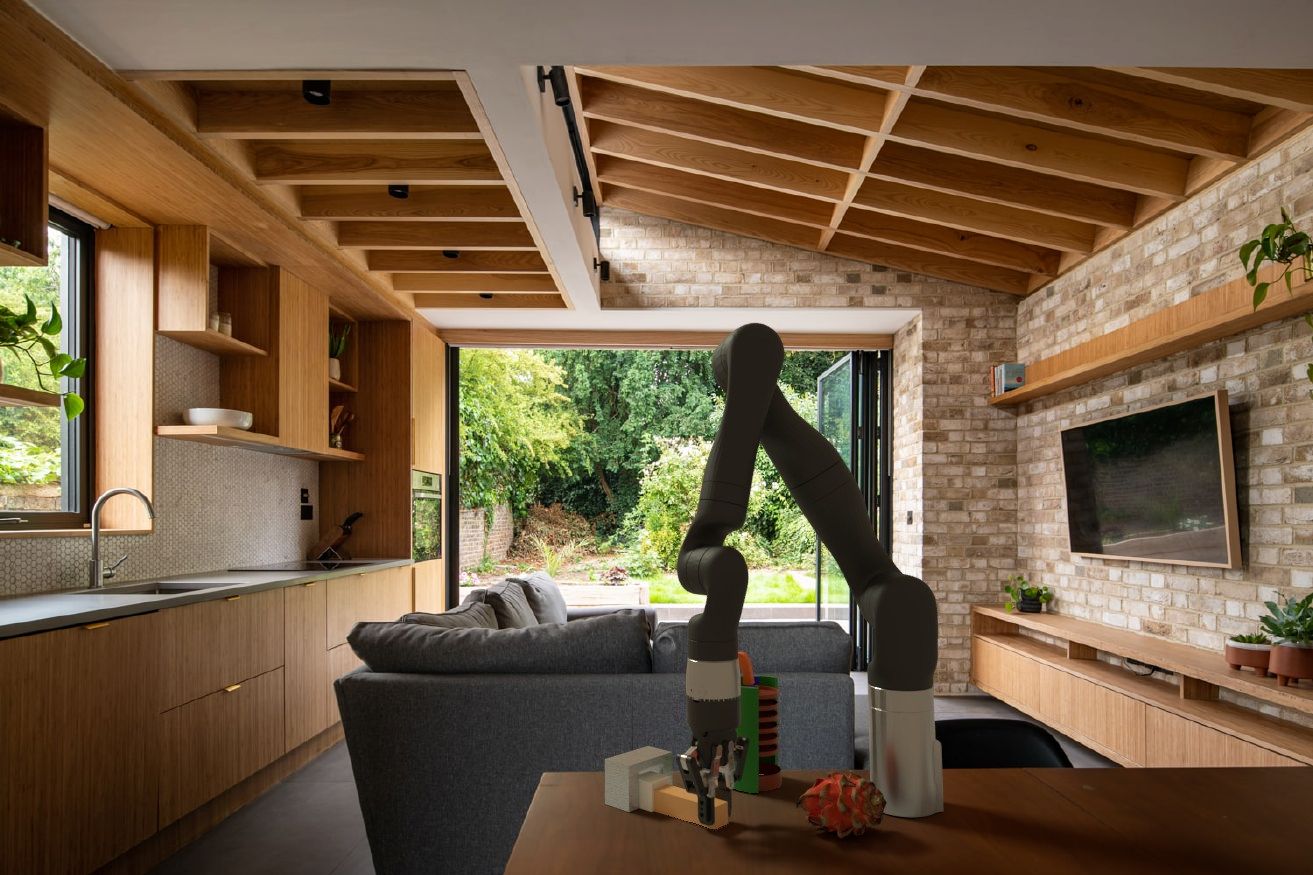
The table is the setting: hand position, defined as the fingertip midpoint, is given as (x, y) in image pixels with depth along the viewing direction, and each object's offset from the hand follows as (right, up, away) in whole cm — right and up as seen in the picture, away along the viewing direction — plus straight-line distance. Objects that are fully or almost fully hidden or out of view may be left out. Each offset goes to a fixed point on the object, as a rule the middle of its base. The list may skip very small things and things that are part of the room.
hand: (715, 819), depth 116 cm
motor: (+7, -2, +17) cm, 19 cm away
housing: (-11, -2, +10) cm, 15 cm away
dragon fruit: (+17, -1, -3) cm, 17 cm away
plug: (-5, -1, +4) cm, 6 cm away
